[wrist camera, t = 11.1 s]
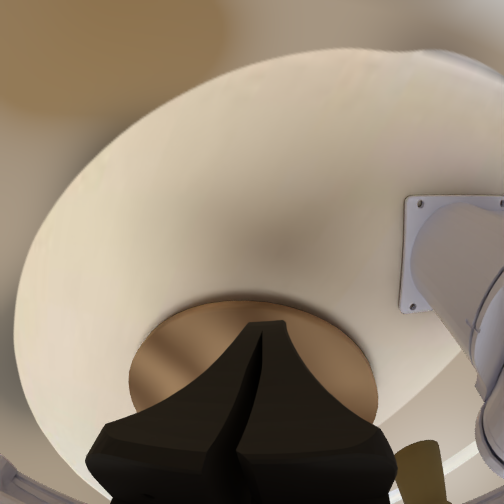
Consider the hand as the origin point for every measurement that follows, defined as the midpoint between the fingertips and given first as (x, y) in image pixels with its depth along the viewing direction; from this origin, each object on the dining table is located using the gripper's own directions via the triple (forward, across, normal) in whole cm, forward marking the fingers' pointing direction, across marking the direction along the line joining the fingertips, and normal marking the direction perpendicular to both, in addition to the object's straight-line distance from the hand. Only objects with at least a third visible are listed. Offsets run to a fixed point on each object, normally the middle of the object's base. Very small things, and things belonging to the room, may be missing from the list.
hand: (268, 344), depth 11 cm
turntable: (+9, +3, +12) cm, 16 cm away
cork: (+9, -14, +25) cm, 30 cm away
